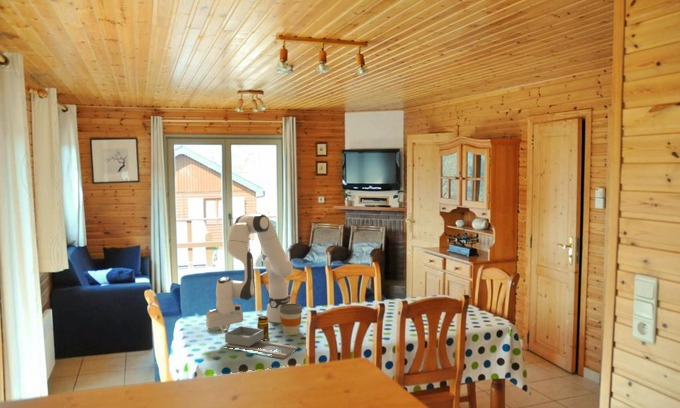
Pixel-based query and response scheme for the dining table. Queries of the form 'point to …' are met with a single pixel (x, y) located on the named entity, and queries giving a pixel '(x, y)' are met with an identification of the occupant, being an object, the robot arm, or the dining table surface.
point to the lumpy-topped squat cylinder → (217, 328)
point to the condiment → (264, 326)
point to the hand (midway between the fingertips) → (225, 332)
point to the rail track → (267, 348)
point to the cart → (244, 336)
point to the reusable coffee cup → (290, 318)
